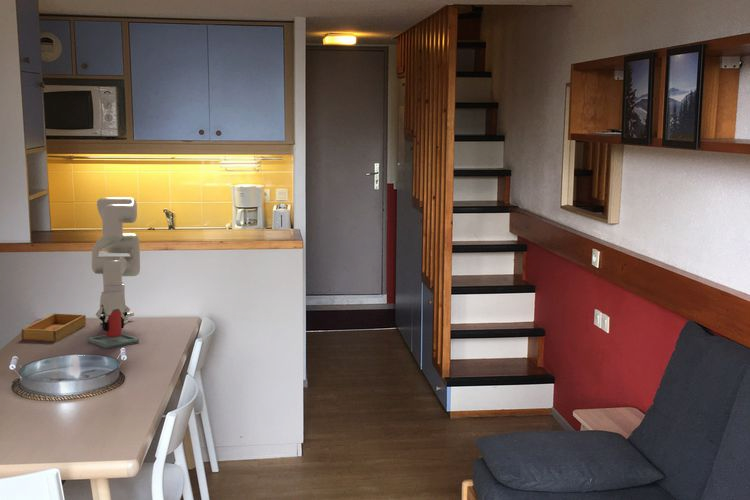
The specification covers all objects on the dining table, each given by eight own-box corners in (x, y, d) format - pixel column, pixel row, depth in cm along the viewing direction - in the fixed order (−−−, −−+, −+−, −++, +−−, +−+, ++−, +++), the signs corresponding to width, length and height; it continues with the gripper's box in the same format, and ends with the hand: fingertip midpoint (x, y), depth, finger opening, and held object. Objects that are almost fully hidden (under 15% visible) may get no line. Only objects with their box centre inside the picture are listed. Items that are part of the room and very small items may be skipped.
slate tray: (119, 336, 362) (119, 332, 362) (138, 342, 353) (138, 338, 353) (88, 342, 351) (88, 338, 351) (107, 348, 341) (107, 344, 341)
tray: (55, 342, 350) (55, 329, 350) (21, 341, 351) (21, 328, 351) (86, 326, 381) (85, 314, 380) (54, 325, 382) (54, 313, 381)
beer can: (124, 334, 354) (123, 307, 353) (117, 338, 348) (117, 310, 346) (109, 333, 355) (108, 306, 354) (102, 337, 349) (102, 309, 347)
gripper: (125, 284, 358) (126, 324, 360) (89, 289, 345) (90, 331, 347) (135, 287, 353) (135, 327, 355) (99, 292, 340) (99, 334, 342)
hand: (113, 328), depth 351 cm, fingers closed on beer can, 6 cm apart
